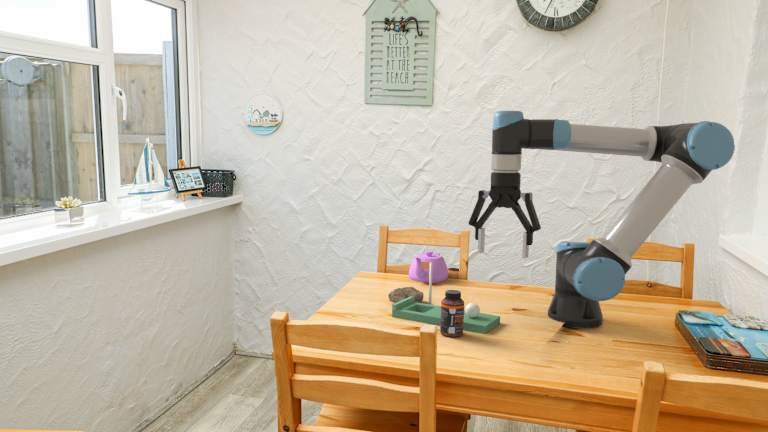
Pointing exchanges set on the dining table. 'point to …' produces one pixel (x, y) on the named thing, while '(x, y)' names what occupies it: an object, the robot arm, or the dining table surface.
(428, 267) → the pin
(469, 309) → the ball
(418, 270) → the teapot
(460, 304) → the supplement bottle
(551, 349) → the dining table surface
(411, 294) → the rock
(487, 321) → the green
